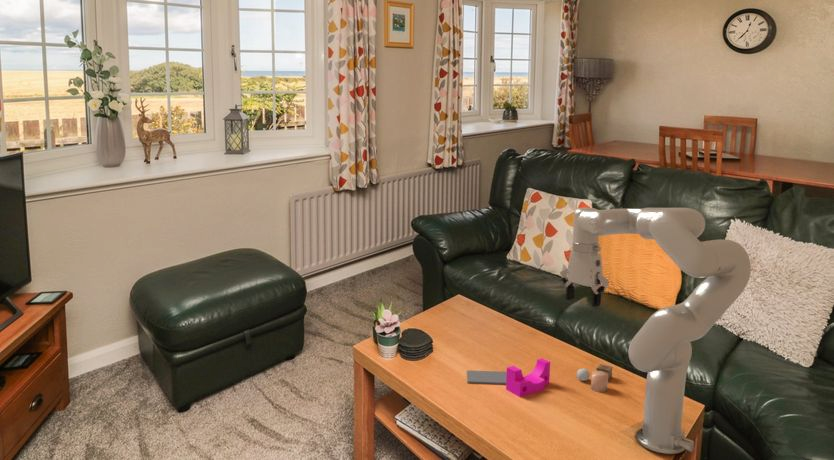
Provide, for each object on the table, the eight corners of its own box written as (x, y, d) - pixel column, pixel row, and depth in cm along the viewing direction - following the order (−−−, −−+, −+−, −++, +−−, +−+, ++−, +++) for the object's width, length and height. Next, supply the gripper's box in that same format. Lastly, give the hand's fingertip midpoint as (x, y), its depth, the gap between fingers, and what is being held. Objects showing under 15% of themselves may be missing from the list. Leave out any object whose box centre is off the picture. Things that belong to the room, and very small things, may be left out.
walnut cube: (611, 378, 191) (612, 366, 190) (608, 382, 187) (609, 370, 187) (599, 375, 193) (600, 364, 192) (595, 379, 189) (596, 367, 189)
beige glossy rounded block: (610, 389, 182) (611, 374, 181) (601, 393, 179) (602, 378, 178) (596, 384, 186) (597, 369, 185) (587, 388, 182) (588, 373, 182)
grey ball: (591, 381, 188) (592, 369, 187) (584, 384, 186) (584, 372, 185) (581, 377, 191) (582, 365, 190) (573, 379, 189) (574, 368, 188)
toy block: (519, 397, 176) (520, 374, 174) (505, 390, 181) (506, 367, 180) (554, 387, 184) (555, 364, 182) (540, 380, 189) (541, 358, 188)
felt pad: (517, 373, 193) (517, 372, 193) (520, 385, 184) (520, 383, 184) (466, 372, 194) (466, 370, 194) (467, 383, 185) (467, 381, 185)
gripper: (617, 250, 172) (614, 306, 174) (570, 243, 186) (568, 295, 188) (601, 253, 167) (599, 310, 170) (554, 245, 181) (552, 298, 183)
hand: (582, 302), depth 179 cm, fingers open, 9 cm apart
